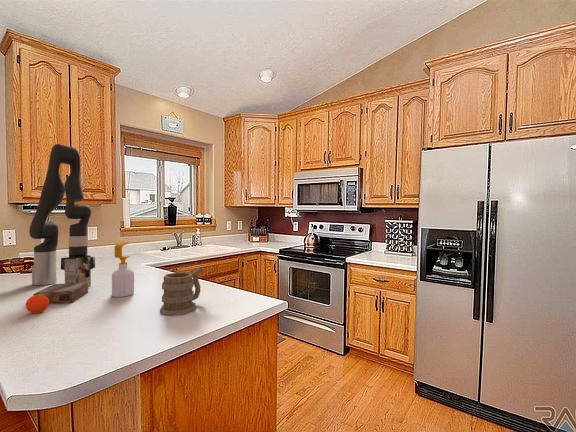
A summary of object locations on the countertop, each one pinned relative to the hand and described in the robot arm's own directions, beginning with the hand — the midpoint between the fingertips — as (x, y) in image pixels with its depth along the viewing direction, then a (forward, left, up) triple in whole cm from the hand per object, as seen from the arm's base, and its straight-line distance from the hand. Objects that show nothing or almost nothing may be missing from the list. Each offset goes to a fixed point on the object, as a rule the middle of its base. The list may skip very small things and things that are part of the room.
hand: (78, 277), depth 146 cm
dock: (0, -16, -6) cm, 17 cm away
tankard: (+54, -41, -6) cm, 68 cm away
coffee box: (0, 0, -6) cm, 6 cm away
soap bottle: (+24, -15, -6) cm, 29 cm away
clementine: (0, -34, -6) cm, 35 cm away
